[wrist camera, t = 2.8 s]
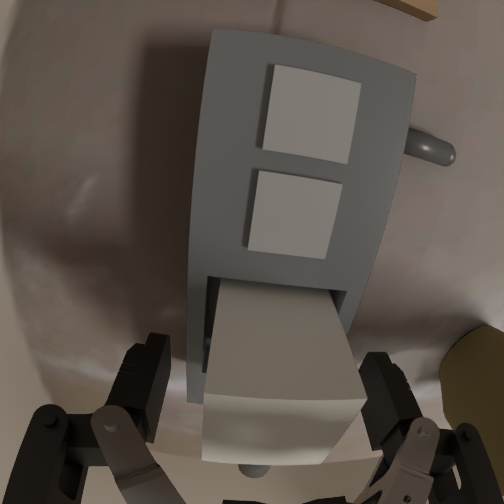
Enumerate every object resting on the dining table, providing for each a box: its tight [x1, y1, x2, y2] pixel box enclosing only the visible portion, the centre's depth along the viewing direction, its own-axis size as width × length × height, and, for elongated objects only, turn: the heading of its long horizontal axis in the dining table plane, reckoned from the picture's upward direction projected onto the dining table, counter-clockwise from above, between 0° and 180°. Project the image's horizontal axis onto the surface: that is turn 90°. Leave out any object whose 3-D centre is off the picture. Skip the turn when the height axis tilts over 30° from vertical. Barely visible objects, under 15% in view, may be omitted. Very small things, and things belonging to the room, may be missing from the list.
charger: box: [202, 278, 368, 478], centre depth 12 cm, size 7×4×7 cm, turn 172°
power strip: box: [186, 28, 456, 404], centre depth 13 cm, size 17×11×4 cm, turn 172°
